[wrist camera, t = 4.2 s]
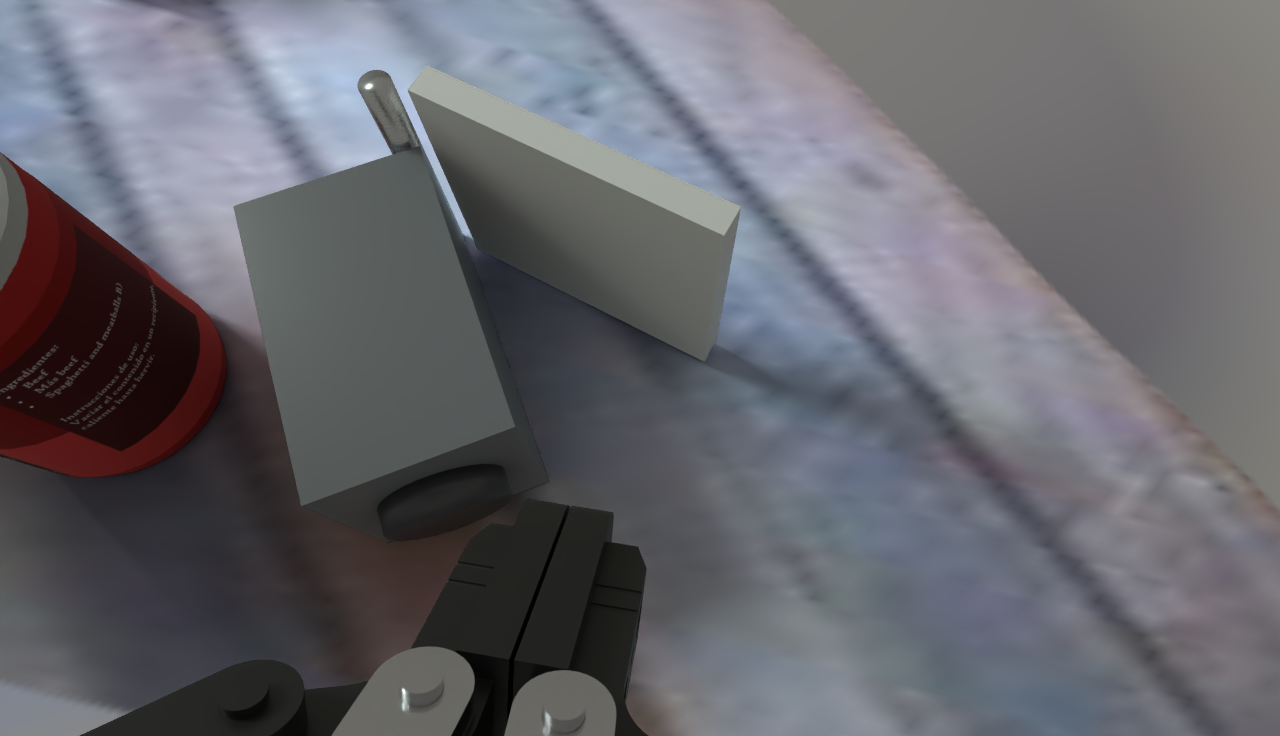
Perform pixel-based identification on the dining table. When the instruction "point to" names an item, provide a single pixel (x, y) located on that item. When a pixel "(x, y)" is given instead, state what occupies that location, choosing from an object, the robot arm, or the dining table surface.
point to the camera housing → (385, 345)
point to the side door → (582, 213)
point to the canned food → (93, 344)
